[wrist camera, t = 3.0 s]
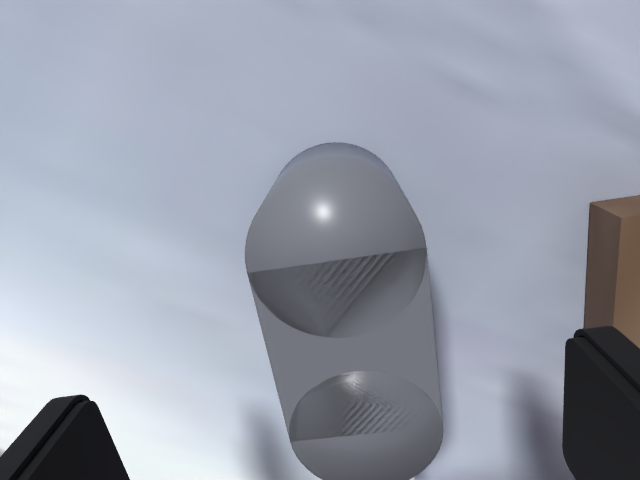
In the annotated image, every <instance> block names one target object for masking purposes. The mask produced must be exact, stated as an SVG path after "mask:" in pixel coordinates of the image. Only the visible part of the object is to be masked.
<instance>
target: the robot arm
mask: <svg viewBox="0 0 640 480" xmlns="http://www.w3.org/2000/svg"><path fill="white" fill-rule="evenodd" d="M562 447H563V454H564V457H565V461H566V463H567V465H568V467H569V469H570V471H571V472H572V474H573V476H574V477H575V479H576V480H640V348H638V347H637V346H636V345H635V344H634V343H633V342H632V341H630V340H629V339H628V338H627V337H626V336H625V335H623V334H622V333H621V332H620V331H619V330H618V329H616V328H615V327H613V326H601V327H593V328H586V329H579V330H577V331H576V332H575V334H574V338H571V339H568V340H567V341H566V346H565V378H564V411H563V444H562ZM0 480H130V479H129V477H128V474H127V472H126V470H125V467H124V465H123V463H122V461H121V458H120V456H119V454H118V451H117V449H116V447H115V445H114V442H113V440H112V438H111V435H110V433H109V431H108V429H107V426H106V424H105V422H104V419H103V417H102V415H101V412H100V410H99V408H98V406H97V404H96V403H95V402H94V401H90V400H89V398H88V397H87V396H85V395H74V396H67V397H59V398H55V399H52V400H51V401H49V402H48V403H47V404H46V405H45V407H44V408H43V409H42V410H41V411H40V412H39V413H38V415H37V416H36V417H35V418H34V419H33V420H32V421H31V423H30V424H29V425H28V426H27V427H26V428H25V429H24V431H23V432H22V433H21V434H20V435H19V436H18V437H17V439H16V440H15V441H14V442H13V443H12V444H11V445H10V447H9V448H8V449H7V450H6V451H5V452H4V453H3V455H2V456H1V457H0Z"/></svg>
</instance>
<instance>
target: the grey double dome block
mask: <svg viewBox="0 0 640 480" xmlns="http://www.w3.org/2000/svg"><path fill="white" fill-rule="evenodd" d="M245 263H246V269H247V274H248V278H249V282H250V286H251V289H252V293H253V297H254V301H255V305H256V309H257V313H258V317H259V321H260V325H261V329H262V333H263V337H264V341H265V344H266V348H267V352H268V356H269V360H270V364H271V368H272V372H273V376H274V380H275V384H276V388H277V392H278V396H279V399H280V403H281V407H282V411H283V415H284V419H285V423H286V427H287V431H288V435H289V439H290V442H291V445H292V448H293V451H294V452H295V454H296V456H297V458H298V459H299V460H300V462H301V463H302V464H303V465H304V466H305V467H306V468H307V469H308V470H309V471H310V472H312V473H313V474H314V475H316V476H317V477H319V478H321V479H322V480H415V478H414V477H415V476H416V475H418V474H419V473H420V472H422V471H423V470H424V469H425V468H426V467H427V466H428V465H429V464H430V463H431V462H432V460H433V459H434V458H435V456H436V454H437V452H438V450H439V448H440V445H441V442H442V437H443V422H442V411H441V401H440V390H439V379H438V368H437V357H436V346H435V335H434V324H433V313H432V303H431V292H430V281H429V270H428V259H427V248H426V242H425V236H424V233H423V230H422V227H421V224H420V222H419V220H418V218H417V216H416V214H415V212H414V211H413V209H412V207H411V205H410V203H409V202H408V200H407V198H406V196H405V195H404V193H403V191H402V189H401V188H400V186H399V184H398V182H397V180H396V179H395V177H394V175H393V174H392V172H391V171H390V169H389V168H388V167H387V165H386V164H385V163H384V162H383V161H382V160H381V159H380V158H378V157H377V156H376V155H374V154H373V153H371V152H370V151H368V150H366V149H364V148H362V147H359V146H356V145H352V144H347V143H325V144H321V145H317V146H314V147H311V148H309V149H307V150H305V151H303V152H301V153H300V154H298V155H297V156H295V157H294V158H293V159H292V160H291V161H290V162H289V163H288V164H287V165H286V166H285V167H284V169H283V170H282V171H281V173H280V175H279V176H278V178H277V180H276V181H275V183H274V185H273V186H272V188H271V190H270V191H269V193H268V195H267V196H266V198H265V200H264V202H263V203H262V205H261V207H260V208H259V210H258V212H257V213H256V215H255V217H254V218H253V221H252V223H251V225H250V228H249V231H248V235H247V239H246V246H245Z"/></svg>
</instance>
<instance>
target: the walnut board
mask: <svg viewBox="0 0 640 480" xmlns="http://www.w3.org/2000/svg"><path fill="white" fill-rule="evenodd" d="M601 326H613V327H615V328H616V329H618V330H619V331H620V332H621V333H622V334H623V335H625V336H626V337H627V338H628V339H629V340H630V341H632V342H633V343H634V344H635V345H636V346H637V347H638V348H640V195H639V196H632V197H625V198H618V199H611V200H605V201H598V202H591V203H590V218H589V238H588V258H587V278H586V298H585V318H584V329H586V328H593V327H601Z"/></svg>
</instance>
